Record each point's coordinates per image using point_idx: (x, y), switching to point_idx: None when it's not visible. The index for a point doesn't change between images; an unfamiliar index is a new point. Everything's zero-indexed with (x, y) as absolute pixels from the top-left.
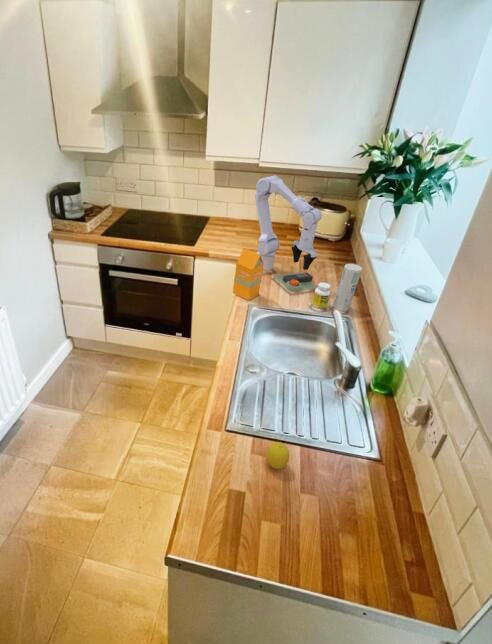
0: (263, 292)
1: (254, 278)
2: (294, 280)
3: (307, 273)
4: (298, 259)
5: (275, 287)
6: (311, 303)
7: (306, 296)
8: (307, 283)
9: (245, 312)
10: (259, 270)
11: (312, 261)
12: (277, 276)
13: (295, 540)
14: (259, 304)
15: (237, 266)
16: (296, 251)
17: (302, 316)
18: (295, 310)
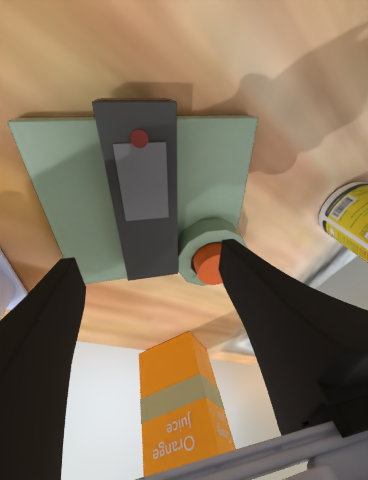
0: (180, 319)
1: (223, 419)
2: (210, 268)
3: (111, 113)
4: (67, 280)
5: (158, 283)
6: (330, 235)
7: (262, 205)
8: (189, 153)
9: (246, 356)
10: (225, 446)
11: (310, 289)
12: (82, 269)
13: None
14: (232, 335)
15: None
16: (51, 424)
17: (332, 269)
18: (302, 275)
